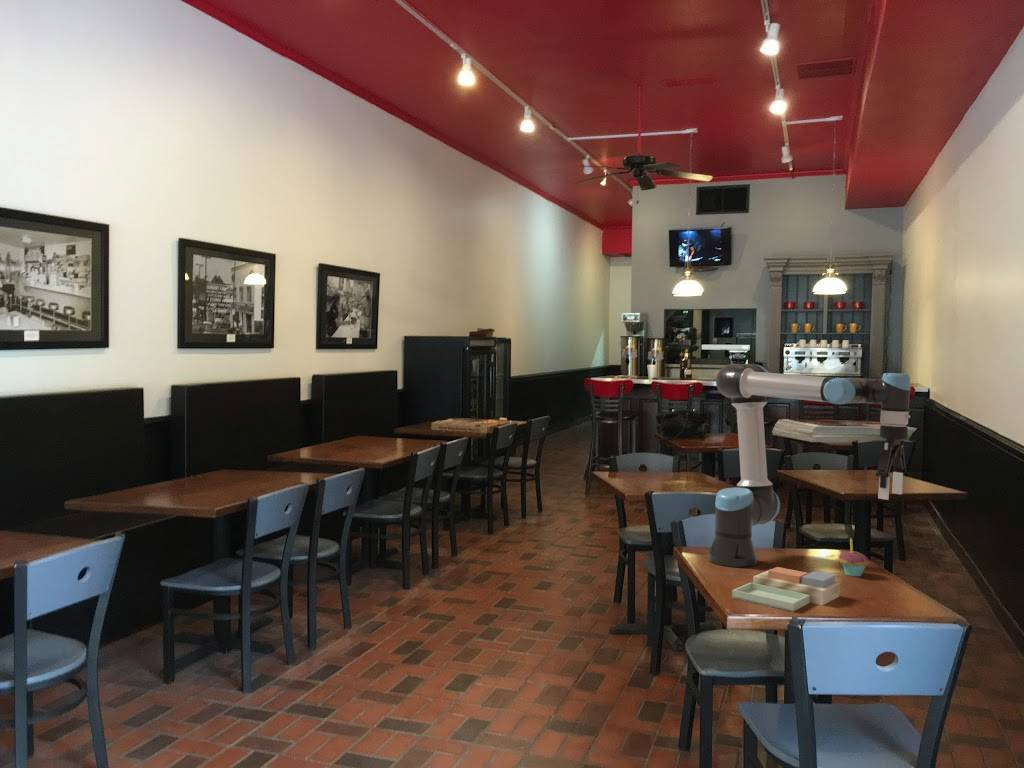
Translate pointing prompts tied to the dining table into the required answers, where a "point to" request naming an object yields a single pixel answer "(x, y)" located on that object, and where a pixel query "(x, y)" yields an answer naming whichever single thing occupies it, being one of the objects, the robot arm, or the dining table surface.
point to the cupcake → (853, 562)
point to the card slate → (818, 579)
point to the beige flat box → (801, 588)
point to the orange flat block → (786, 574)
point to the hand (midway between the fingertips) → (890, 496)
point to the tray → (771, 596)
